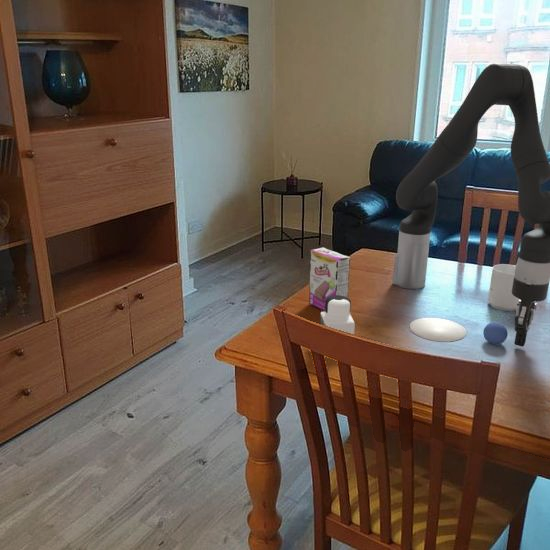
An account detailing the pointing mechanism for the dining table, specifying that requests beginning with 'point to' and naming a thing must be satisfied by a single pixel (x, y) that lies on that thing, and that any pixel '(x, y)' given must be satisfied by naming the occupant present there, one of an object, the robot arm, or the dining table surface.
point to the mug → (502, 288)
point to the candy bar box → (327, 276)
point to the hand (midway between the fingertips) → (519, 344)
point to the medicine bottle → (338, 314)
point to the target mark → (437, 329)
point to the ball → (495, 333)
